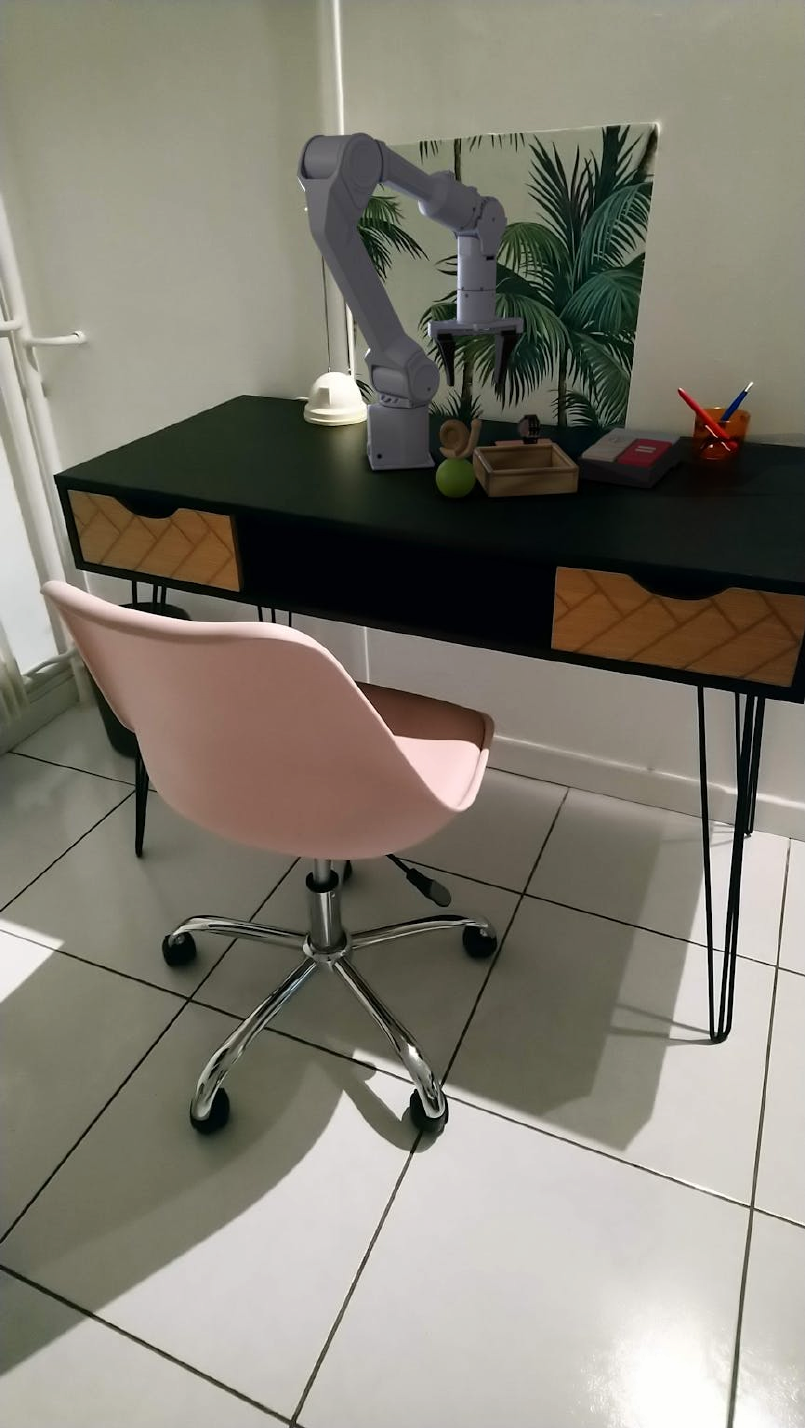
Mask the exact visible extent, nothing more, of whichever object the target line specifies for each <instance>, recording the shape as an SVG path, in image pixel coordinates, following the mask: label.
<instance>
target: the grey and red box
mask: <svg viewBox="0 0 805 1428" xmlns="http://www.w3.org/2000/svg"><path fill="white" fill-rule="evenodd" d="M684 440H685V439H684V437H683V436H681V435H679V434H672V433H663V432H655V431H647V430H638V429H631V428H621V427H615V428H613V429H611V430H610V431H609V432H608V433H606V434H604V435H603V436H602V437H601V438H600V439H599V440H597V441H596V442H595V443H594V444H593V445H591V446H590V447H589V448H588V449H586V450H585V451H583V452H582V454H581V455H579V457H577V464H576V465H577V466H578V467H579V473H578V480H586V481H593V482H599V483H607V484H612V485H620V486H625V487H626V486H627V487H635V488H641V489H648V490H649V489H651V488H653V487H654V485H655V484H656V483H658V481H659V480H660V479H661V478H663V476H664V475H665V474H666V473H667V472H668V471H669V470H670V469H674V468H675V467H676V466H677V465H678V464H679V463H680V462H681V460H682V455H683V447H684Z"/></svg>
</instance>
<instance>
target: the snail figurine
mask: <svg viewBox="0 0 805 1428" xmlns="http://www.w3.org/2000/svg"><path fill="white" fill-rule="evenodd" d="M483 413H484V410H483V409H479V410H477V411H476V415H477V416H478V417H477V418H474V419H473V420H472V421H471V422H470V426H471V427H470V428H471V430H470V431H469V428H468V427H467V425H465V423H463V422H462V421H461V420H459V419H448V420H446V421H445V422H444V423H443V424H442V425H441V426H440V430H439V440H440V442H441V445H442V446H441V447H439V451H440V453H441V454H442V455H443V456H444V457H445V458H447V459H445V460H443V461H442V462H441V464H440V465H439V466H438V468H437V470H436V473H435V483H436V486H437V488H438V490H439V491H440V492H441V494H443V495H444V496H445V497H446V498H447V497H448V498H450V499H460V498H464V497H465V496H467V495H469V494H470V492H471V491H472V490H473V489H474V487H475V485H476V480H477V477H476V474H475V470H474V468H473V464H472V463H471V462H470V461H468V460H467V458H469V457H470V456H473V452H474V450H475V448H476V447H477V446H478V442H479V438H480V432H481V429H482V424H483V422H482V418H480V416H481V415H482V414H483Z"/></svg>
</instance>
